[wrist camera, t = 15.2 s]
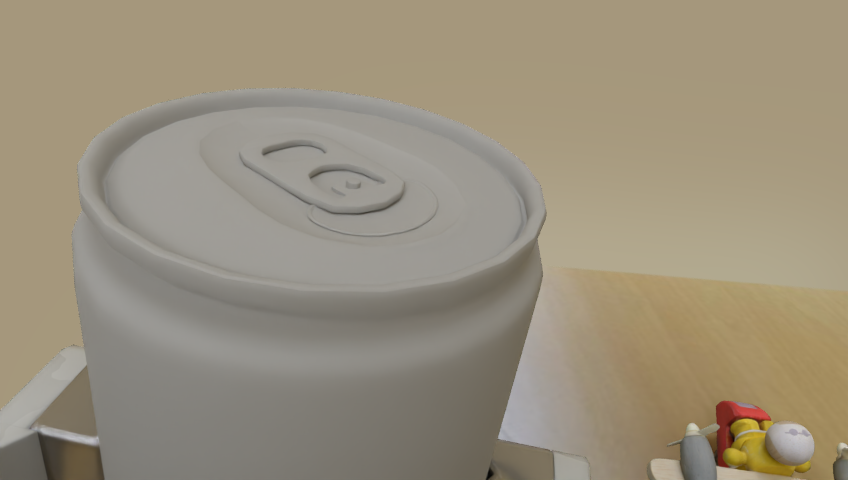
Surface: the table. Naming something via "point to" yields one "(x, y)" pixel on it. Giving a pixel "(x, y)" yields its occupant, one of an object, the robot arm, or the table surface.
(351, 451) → the beverage can
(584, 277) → the table surface
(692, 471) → the toy airplane
